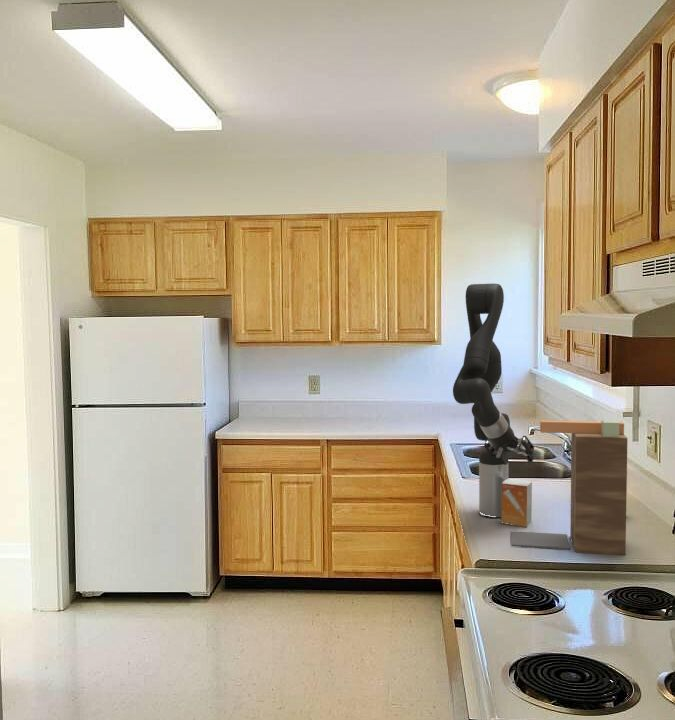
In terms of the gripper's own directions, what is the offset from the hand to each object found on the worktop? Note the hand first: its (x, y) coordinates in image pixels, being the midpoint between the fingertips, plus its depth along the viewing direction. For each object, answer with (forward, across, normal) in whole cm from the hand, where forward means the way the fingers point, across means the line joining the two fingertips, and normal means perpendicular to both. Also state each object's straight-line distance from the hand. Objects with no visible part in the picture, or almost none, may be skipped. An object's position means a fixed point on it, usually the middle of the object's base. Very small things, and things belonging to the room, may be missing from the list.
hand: (518, 461), depth 221 cm
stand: (+14, -23, +21) cm, 34 cm away
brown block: (-12, -24, +1) cm, 27 cm away
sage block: (-11, -33, +2) cm, 35 cm away
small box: (+14, +4, +13) cm, 19 cm away
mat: (+8, -9, +24) cm, 26 cm away
